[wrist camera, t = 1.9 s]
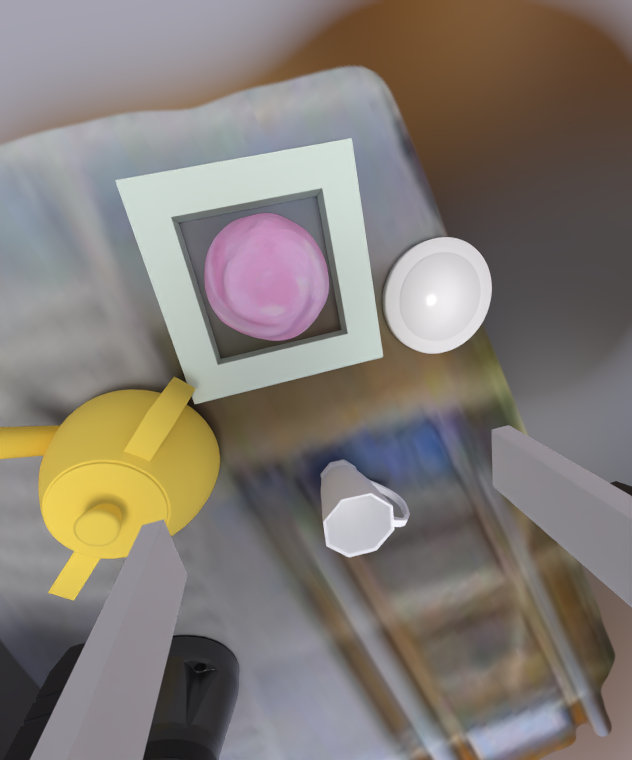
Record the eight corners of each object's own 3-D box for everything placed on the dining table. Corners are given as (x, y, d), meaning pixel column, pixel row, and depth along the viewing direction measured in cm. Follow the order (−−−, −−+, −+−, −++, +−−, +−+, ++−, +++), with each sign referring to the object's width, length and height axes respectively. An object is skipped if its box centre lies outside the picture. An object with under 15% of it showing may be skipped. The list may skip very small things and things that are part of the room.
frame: (199, 395, 31) (194, 404, 29) (128, 189, 26) (115, 180, 23) (374, 351, 33) (383, 356, 31) (343, 150, 28) (351, 138, 25)
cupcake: (203, 307, 29) (177, 319, 20) (234, 211, 28) (222, 173, 18) (294, 341, 32) (310, 366, 22) (328, 254, 30) (361, 241, 20)
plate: (390, 362, 34) (395, 365, 33) (374, 251, 30) (379, 250, 29) (485, 337, 35) (494, 339, 34) (481, 228, 32) (490, 226, 30)
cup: (317, 444, 35) (333, 488, 28) (399, 457, 38) (435, 501, 30) (301, 499, 37) (313, 555, 29) (381, 508, 39) (410, 563, 32)
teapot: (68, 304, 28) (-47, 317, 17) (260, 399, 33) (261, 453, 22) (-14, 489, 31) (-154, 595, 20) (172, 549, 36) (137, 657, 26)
